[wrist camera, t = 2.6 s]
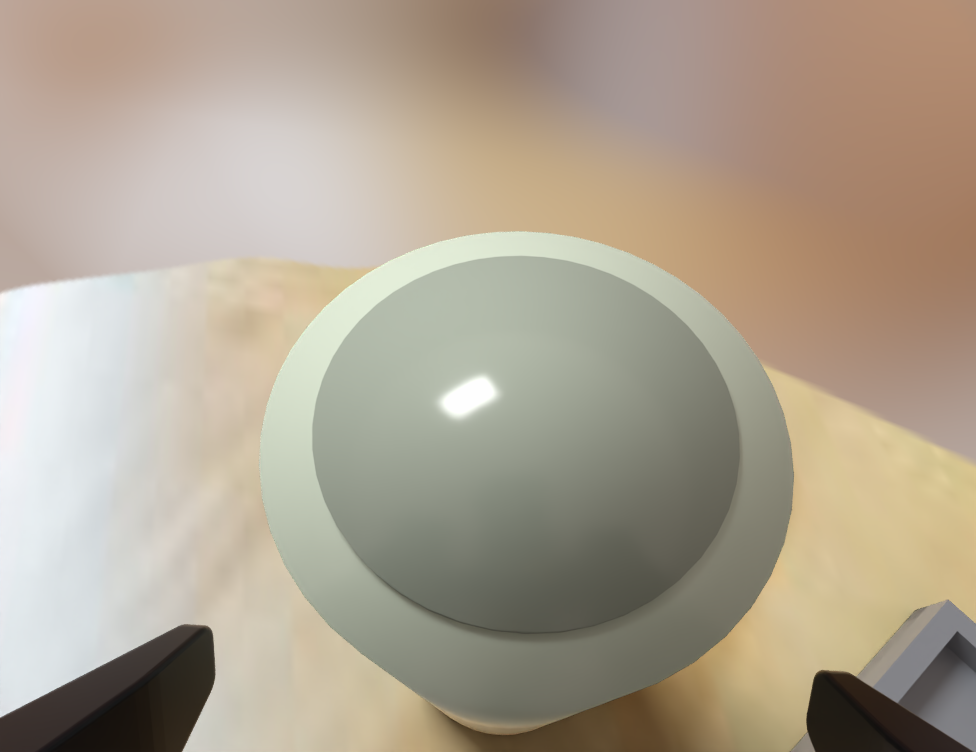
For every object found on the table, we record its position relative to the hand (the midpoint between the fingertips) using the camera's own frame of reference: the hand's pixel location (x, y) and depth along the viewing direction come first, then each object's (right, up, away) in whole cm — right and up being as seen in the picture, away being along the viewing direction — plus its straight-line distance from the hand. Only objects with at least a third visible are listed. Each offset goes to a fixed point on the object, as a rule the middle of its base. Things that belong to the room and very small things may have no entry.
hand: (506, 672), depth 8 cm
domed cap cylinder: (0, -3, +9) cm, 10 cm away
